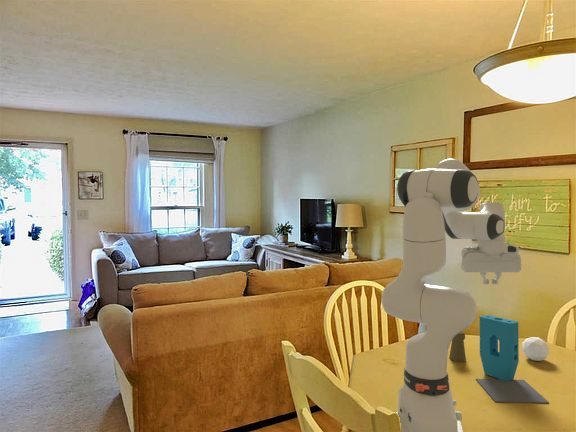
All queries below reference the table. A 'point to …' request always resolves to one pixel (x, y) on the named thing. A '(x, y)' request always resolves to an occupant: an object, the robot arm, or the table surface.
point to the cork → (458, 348)
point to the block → (508, 355)
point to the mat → (511, 391)
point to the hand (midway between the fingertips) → (490, 284)
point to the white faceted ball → (535, 348)
